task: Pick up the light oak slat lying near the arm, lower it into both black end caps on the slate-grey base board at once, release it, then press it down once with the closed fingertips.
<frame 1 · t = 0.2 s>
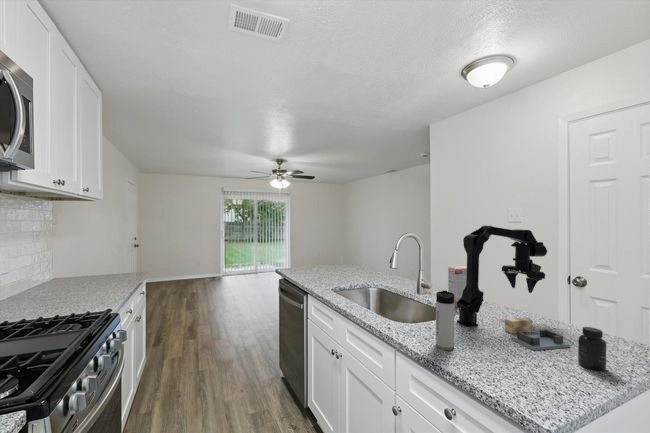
hand: (521, 290, 139), 14 cm above the worktop, fingers open, 9 cm apart
supplement bottle: (591, 367, 97), on the worktop
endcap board: (539, 343, 114), on the worktop
travel mug: (444, 347, 110), on the worktop
slat: (518, 331, 127), on the worktop
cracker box: (462, 306, 162), on the worktop
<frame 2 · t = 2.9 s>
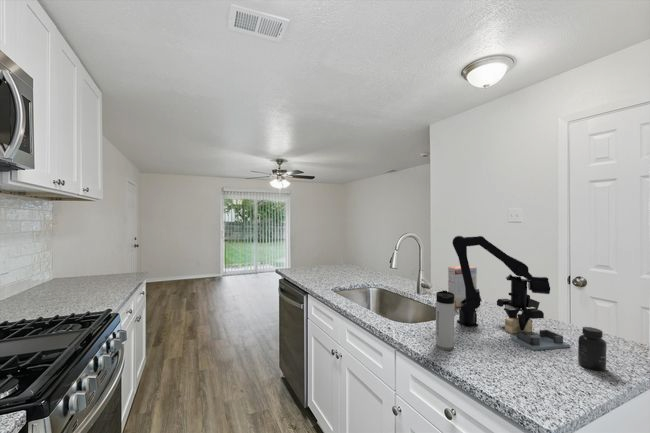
hand: (518, 328, 127), 1 cm above the worktop, fingers closed on slat, 3 cm apart
slat: (518, 330, 127), on the worktop, touching gripper
everything else where it was.
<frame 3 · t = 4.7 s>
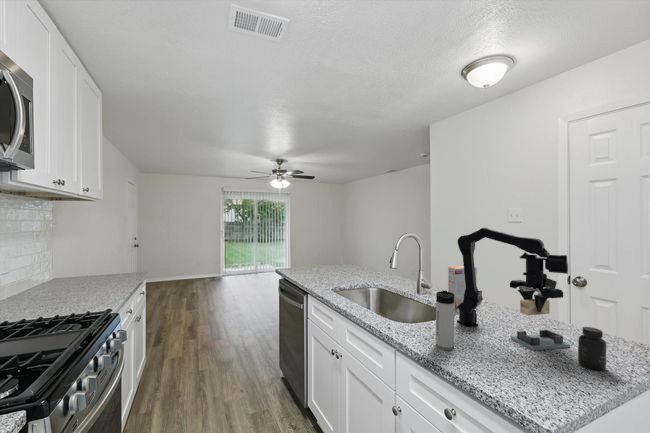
hand: (534, 310, 118), 11 cm above the worktop, fingers closed on slat, 3 cm apart
slat: (534, 313, 118), point 10 cm above the worktop, touching gripper
everything else where it was.
when the fingers open (3 cm above the worktop, at t = 6.7 s): slat drops 1 cm, resting on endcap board.
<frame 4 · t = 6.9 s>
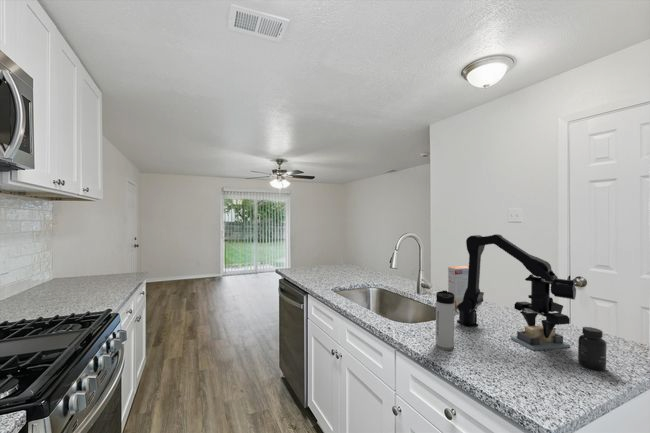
hand: (539, 334, 114), 3 cm above the worktop, fingers open, 6 cm apart
slat: (539, 340, 114), point 1 cm above the worktop, touching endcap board
everything else where it was.
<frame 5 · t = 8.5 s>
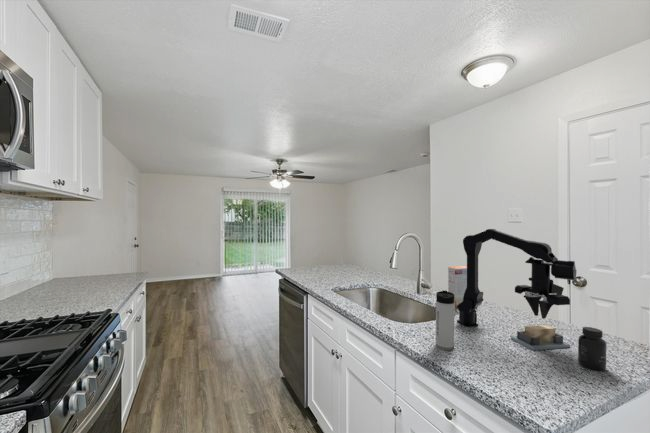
hand: (540, 316, 114), 10 cm above the worktop, fingers open, 3 cm apart
nothing on the worktop moved.
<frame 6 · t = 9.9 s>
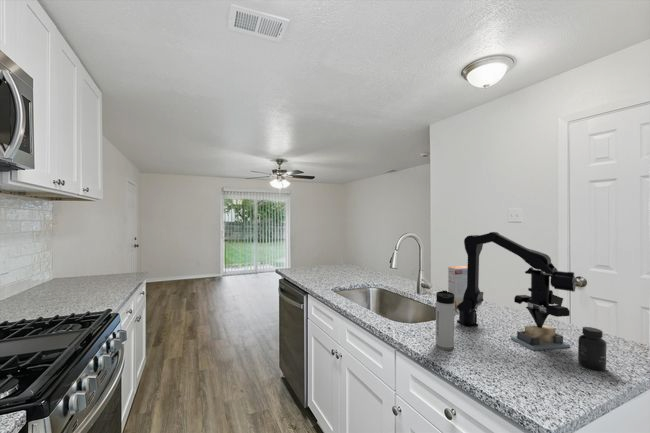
hand: (539, 327, 114), 6 cm above the worktop, fingers closed, pressing on slat
slat: (539, 340, 114), point 1 cm above the worktop, touching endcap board, gripper
everything else where it was.
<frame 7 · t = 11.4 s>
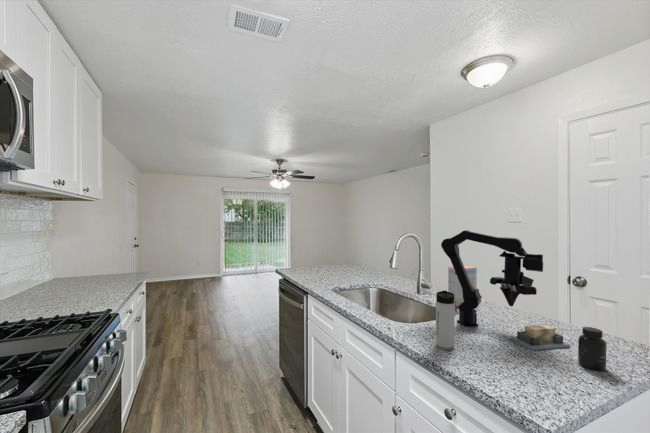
hand: (511, 306, 124), 11 cm above the worktop, fingers closed
slat: (539, 340, 114), point 1 cm above the worktop, touching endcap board
everything else where it was.
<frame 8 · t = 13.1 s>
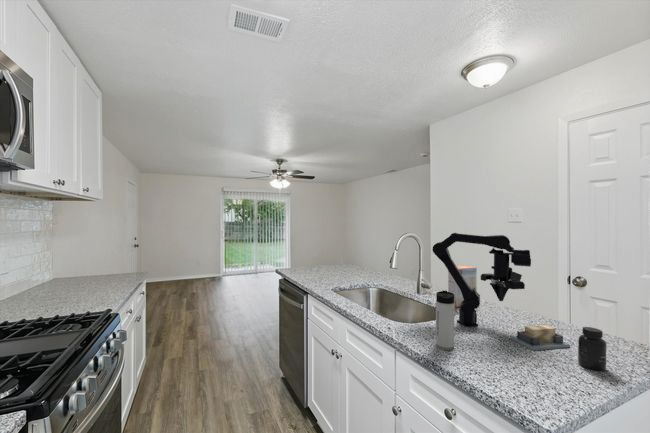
hand: (501, 301, 128), 12 cm above the worktop, fingers closed
nothing on the worktop moved.
at the end: slat 0.1 cm off-centre on the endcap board, point 1.0 cm above the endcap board's base; slat tilted 0°; the gripper is holding nothing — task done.
